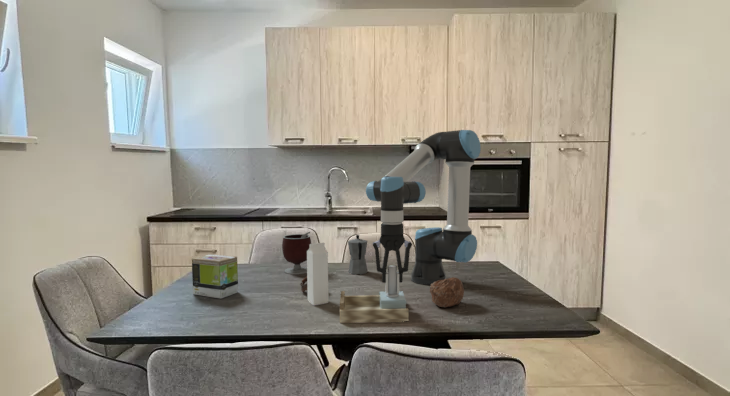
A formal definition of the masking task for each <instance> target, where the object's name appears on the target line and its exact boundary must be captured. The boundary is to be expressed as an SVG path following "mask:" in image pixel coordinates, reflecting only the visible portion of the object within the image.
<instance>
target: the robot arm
mask: <svg viewBox="0 0 730 396" xmlns="http://www.w3.org/2000/svg"><path fill="white" fill-rule="evenodd" d="M481 147H482V146H481V141H480V138H479V136H478V135H477V133H476V132H475V131H474V130H473V129H472V130H471V129H460V130H459V129H458V130H447V131H439V132H436V133H434V134H431V135H429V136H428V137H426V138H425V139H423V140H422V141H421V142H419V143H418V144H417V145H416V146H415V147H414V150H413V151H412V152H411V153H410V154H409V155H407V156H406V157H405V158H404V159H403V160H402V161H400V163H398V164H396V166H395V167H394V168H392V169H391V170H390V171H389V172H388V173H386V175H384V176H383V177H382V178H381V179H379V180H373V181H369V182H368V184H367V185H366V187H365V194H366V196H367V198H368V199H369V200H370V201H373V202H378V203H379V202H380V222H381V223H380V237H379V240H376V241H372V247H373V249H374V253H375V264H376V265H375V266H376V271H377V272H378V273H381V281H382V283H383V284H385V291H386V293H388V271H387V270H388V261H389V255H390V252H391V251H394V253H395V257H396V263H397V269H398V271H397V293H399V291H400V284H401V283H403V278H404V276H403V274H404V273H406V272H408V271H409V262H410V252H411V251H410V250H411V248H412V246H413V243H412V242H411V241H410V240H409V241H408V240H406V239H405V235H404V223H403V222H404V205H406V204H417V203H421V202H422V201H423V200H424V199H425V197H426V187H425V186H424V184H423V183H421V182H420V181H415V180H414V181H410V180H411V179H412V178H413V177H414V176H416V175H417V173H419V171H421V170H422V169H423V168H424V167H425V166H427V165H430V164H432V163H433V162H434V161H437V160H444V161H445V165H446V166H447V167H448V180H447V181H448V184H447V187H448V188H447V210H446V211H447V212H446V213H447V214H446V215H447V217H446V225H445V226H444V227H443V228H442V227H427V228H425V227H424V228H419V229H417V230H415V231H416V232H415V236H414V243H415V245H414V247H415V248H414V250H415V251H414V252H415V253H414V256H415V258H414V260H415V261H414V262H415V263H414V265H413V268H412V271H411V274H410V276H411V277H410V279H411V281H412V282H413V283H416V284H420V285H427V286H428V285H430V286H431V284H433V283H434V282H436V281H439V280H444V279H447V275H446V271H445V269H444V266H443V260H447V261H451V262H456V263H468V262H470V261H472V259H473V257H474V256H475V255H476V251H477V249H478V248H477V247H478V240H477V237H476V235H474V234H472V232H473V231H472V230H473V229H472V228H471V227H470V226H469V211H470V187H471V185H470V184H471V182H470V180H471V167H472V166H473V165H474V164H475V160H476V159H478V158H479V157H480V154H481V149H482V148H481ZM380 244H381V245H382V247H383V248H384V252H383V253H384V254H383V262H382V267H381V261H380V260H381V257H380V251H379V248H380V246H381V245H380ZM403 244H404V247H405V249H404V260H403V263H402V258H401V252H400V249H401V248H402V247H403ZM402 264H403V265H402ZM385 291H384V292H385Z"/></svg>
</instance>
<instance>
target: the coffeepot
mask: <svg viewBox="0 0 730 396" xmlns="http://www.w3.org/2000/svg"><path fill="white" fill-rule="evenodd" d="M355 237H356V238H354V239H350V240H348V241H347V245H348V250H349V251H348V252H349V255H350V259H349V264H348V265H349V266H348V273H349V274H350V273H351V274H350V275H355V274H360V275H365V274H367V273H368V267H367V266H368V265H367V259H366V254H367V248H368V247H367V246H368V240H365V239H362V238H360V235H359V234H356V235H355Z"/></svg>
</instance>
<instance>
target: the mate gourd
mask: <svg viewBox="0 0 730 396" xmlns="http://www.w3.org/2000/svg"><path fill="white" fill-rule="evenodd" d="M310 234H311V232H310V231H307V232H305V233H304V234H303V233H301V234H300V233H295V234H285V235H284V236H282V242H281V243H282V244H281V248H282V249H281V250H282V255H283V258H284V260H286V262H288V263H291V264H294V265H293V267H288V268H285V269H284V273H285V274H287V275H305V274H307V266H301V264H303V263H305V262H307V250H308V249H309V245H310V244H312V239H311V235H310Z"/></svg>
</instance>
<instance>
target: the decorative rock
mask: <svg viewBox="0 0 730 396" xmlns="http://www.w3.org/2000/svg"><path fill="white" fill-rule="evenodd" d="M464 288H465V287H464V284H463V282H462V280H461V279H460V278H458V277H454V276H452V277H448V278H446V279H444V280H439V281H436V282H434V283H433V284H431V285H430V286H429V293H430V295H431V301H432V303H434V304H435V305H436V306H437V307H441V308H448V307H454V306H455V305H456V306H457V305H460V303H461V302H462V300H464V295H465V289H464Z"/></svg>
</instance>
